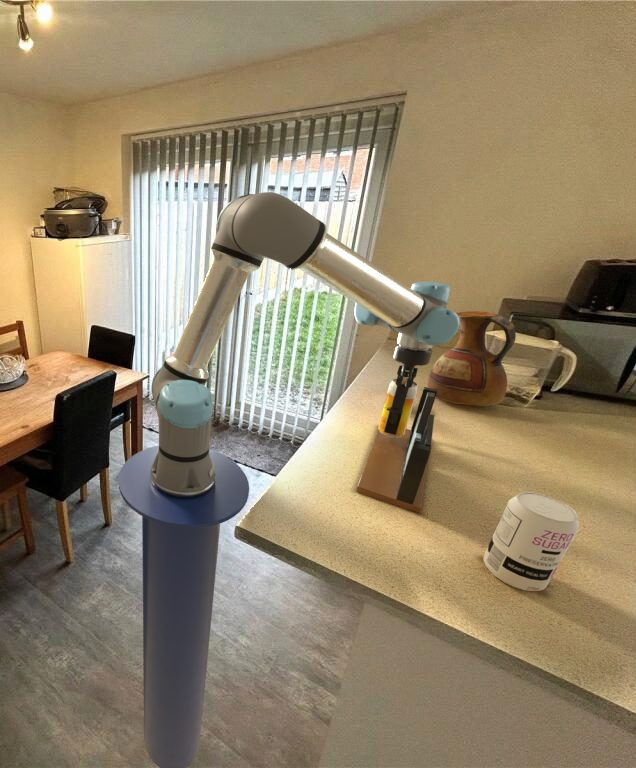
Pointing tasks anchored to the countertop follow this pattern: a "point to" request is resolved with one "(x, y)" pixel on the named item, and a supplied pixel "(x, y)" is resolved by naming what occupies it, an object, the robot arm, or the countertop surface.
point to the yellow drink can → (406, 409)
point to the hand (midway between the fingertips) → (391, 427)
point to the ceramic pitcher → (473, 363)
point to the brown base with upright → (399, 465)
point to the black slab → (420, 423)
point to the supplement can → (531, 540)
